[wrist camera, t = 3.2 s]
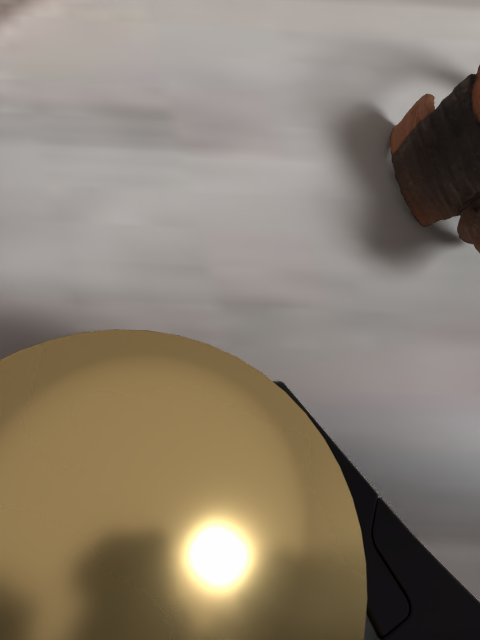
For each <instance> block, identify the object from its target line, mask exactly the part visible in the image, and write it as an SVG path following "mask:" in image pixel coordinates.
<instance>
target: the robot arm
mask: <svg viewBox="0 0 480 640" xmlns="http://www.w3.org/2000/svg"><path fill="white" fill-rule="evenodd" d="M272 382H274V383H275V384H276V385H277V386H279V387H280V388H281V389H282V390H283V391H285V392H286V393H287V394H288V395H289V397H290V398H291V399H292V400H293V401H294V402H295V403H296V404H297V405H298V406H299V407H300V408H301V409H302V410H303V411H304V412H305V413H306V415H307V416H308V417H309V419H310V420H311V421H312V423H313V424H314V425H315V427H316V428H317V430H318V431H319V432H320V434H321V435H322V436H323V438H324V439H325V441H326V443H327V445H328V446H329V448H330V450H331V452H332V454H333V455H334V457H335V459H336V461H337V463H338V464H339V466H340V468H341V471H342V473H343V476H344V478H345V481H346V483H347V486H348V488H349V491H350V493H351V496H352V498H353V502H354V506H355V509H356V513H357V517H358V521H359V524H360V528H361V533H362V540H363V547H364V553H365V560H366V578H367V608H366V620H365V633H364V640H480V602H479V601H478V600H477V599H476V598H475V597H474V596H473V595H472V594H471V593H470V592H469V591H468V590H467V589H466V588H465V587H464V586H463V585H462V584H461V583H460V582H459V581H458V580H457V579H456V578H455V577H454V576H453V575H452V574H451V573H450V572H449V571H448V570H447V569H446V568H445V567H444V566H443V565H442V564H441V563H440V562H439V561H438V560H437V559H436V558H435V557H434V556H433V555H432V554H431V553H430V552H429V551H428V550H427V549H426V548H425V547H424V546H423V545H422V544H421V543H420V541H419V540H418V539H417V538H416V537H415V536H414V535H413V534H412V533H411V532H410V531H409V530H408V528H407V527H406V526H405V525H404V524H403V523H402V522H401V520H400V519H399V518H398V517H397V516H396V515H395V514H394V513H393V511H392V510H391V509H390V508H389V507H388V505H387V504H386V503H385V502H384V501H383V500H382V498H380V497H379V498H378V494H377V493H376V491H375V490H374V489H373V488H372V487H371V486H370V484H369V483H368V482H367V481H366V480H365V478H364V477H363V476H362V475H361V474H360V473H359V471H358V470H357V469H356V468H355V467H354V465H353V464H352V463H351V462H350V461H349V460H348V458H347V457H346V456H345V455H344V454H343V452H342V451H341V450H340V449H339V448H338V447H337V445H336V444H335V443H334V442H333V441H332V439H331V438H330V437H329V436H328V435H327V434H326V432H325V431H324V430H323V429H322V428H321V426H320V425H319V424H318V423H317V422H316V421H315V419H314V418H313V417H312V416H311V415H310V414H309V412H308V411H307V410H306V409H305V408H304V406H303V405H302V404H301V403H300V402H299V401H298V399H297V398H296V397H295V396H294V395H293V393H292V392H291V391H290V390H289V389H288V388H287V386H286V385H285V384H284V383H283V382H281V381H272Z"/></svg>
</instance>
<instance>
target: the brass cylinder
mask: <svg viewBox="0 0 480 640" xmlns="http://www.w3.org/2000/svg"><path fill="white" fill-rule="evenodd" d="M366 608H367V578H366V560H365V553H364V547H363V540H362V533H361V528H360V524H359V521H358V517H357V513H356V509H355V506H354V502H353V498H352V496H351V493H350V491H349V488H348V486H347V483H346V481H345V478H344V476H343V473H342V471H341V468H340V466H339V464H338V463H337V461H336V459H335V457H334V455H333V454H332V452H331V450H330V448H329V446H328V445H327V443H326V441H325V439H324V438H323V436H322V435H321V434H320V432H319V431H318V430H317V428H316V427H315V425H314V424H313V423H312V421H311V420H310V419H309V417H308V416H307V415H306V413H305V412H304V411H303V410H302V409H301V408H300V407H299V406H298V405H297V404H296V403H295V402H294V401H293V400H292V399H291V398H290V397H289V395H288V394H287V393H286V392H285V391H283V390H282V389H281V388H280V387H279V386H277V385H276V384H275V383H274V382H272V381H271V380H270V379H269V378H267V377H266V376H265V375H264V374H263V373H261V372H260V371H258V370H256V369H255V368H253V367H252V366H250V365H248V364H247V363H245V362H243V361H242V360H240V359H239V358H237V357H235V356H233V355H231V354H229V353H226V352H224V351H222V350H220V349H217V348H215V347H213V346H211V345H208V344H205V343H202V342H199V341H195V340H192V339H189V338H185V337H182V336H179V335H173V334H166V333H160V332H154V331H148V330H118V329H115V330H104V331H94V332H83V333H79V334H74V335H70V336H65V337H61V338H56V339H51V340H48V341H46V342H43V343H40V344H37V345H34V346H31V347H28V348H26V349H23V350H20V351H17V352H15V353H13V354H11V355H9V356H7V357H5V358H3V359H1V360H0V640H364V633H365V620H366Z"/></svg>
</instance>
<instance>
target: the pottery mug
mask: <svg viewBox="0 0 480 640" xmlns="http://www.w3.org/2000/svg"><path fill="white" fill-rule="evenodd" d="M434 108H435V107H434V96H433V95H430V94H425V95H424V96H423V97H421V98H420V99H419V100H418V101H417V102H416V103H415V104H414V105H413V107H412V108H411V109H410V110H409V111H408V113H407V114H406V115H405V116H404V118H403V119H402V121H401V122H400V123H399V124H398V125H396V126H395V128H394V129H393V130H392V134H391V137H390V147H391V154H392V162H393V166H394V169H395V178H396V180H397V182H398V184H399V187H400V190H401V194H402V195H403V197H404V200H405V202H406V203H407V205H408V206H409V208H410V209H411V211H412V213H413V214H414V216H415V217H416V218H417V220H418V221H419V222H420V223H421V225H423V226H428V225H431V224H433V223H435V222H437V221H439V220H446V219H449V218H451V217H454V216H459V215H460V216H461V217H460V220H459V223H458V227H457V232H458V234H459V237H460V239H461V240H463V241H465V242H467V243H470V244H474V246H475V248H476V249H477V250H478V252H479V253H480V66H479V68H478V72H477V74H470V75H469V76H468V77H467V78H466V79H465V80H464V81H463V82H461V83H460V84H459V85H458V86H456V87H455V88H454V90H453V92H452V93H451V94H450V95H449V96H447V97H446V98H445V99H443V100H442V102H441V103H440V105H439V106H438V107H437V108H436V109H434Z"/></svg>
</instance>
